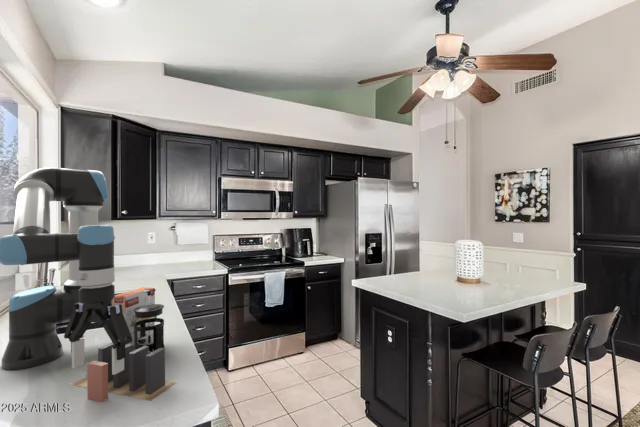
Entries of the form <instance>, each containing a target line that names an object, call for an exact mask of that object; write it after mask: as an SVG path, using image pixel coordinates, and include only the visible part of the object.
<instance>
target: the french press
mask: <svg viewBox="0 0 640 427" xmlns="http://www.w3.org/2000/svg"><path fill="white" fill-rule="evenodd" d="M153 291H157V289H156V288H155V289H146V290H143V291H142V292H147V296H148V305H144V306H140V307H137V308H135V309H134V312H135V317H137V318H149V319H145V320H141V321H138V322H136V323H135V324H134V350H136V349H139V348H141V347H143V346H149V352H150V351H152V352H153V351H155V350H157V349H159V348H165V344H164V342H165V341H164V340H165V339H164V338H165V337H164V336H165V335H164V330H165V329H164V325H165V319H164V318H161V317H160V318H159V317H158V316H160V315H162V314H163V311H164V310H163V309H164V308H165V305H164V304H160V303H159V304H158V303H155V304H151V305H150V295H151V292H153ZM150 317H155V318H151V319H150ZM150 322H155V323H158V324H155V325H154V326H150ZM145 323H149V326H148V327H146V324H145ZM138 325H140V327H137V326H138ZM150 330H153V335H150ZM137 331H140V338H138V339H137ZM146 331H149V335H147V336H146ZM137 345H138V346H140V347H138V348H137Z"/></svg>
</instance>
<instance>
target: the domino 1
mask: <svg viewBox="0 0 640 427" xmlns="http://www.w3.org/2000/svg"><path fill="white" fill-rule="evenodd" d="M112 347H114V344H113V342H112V341H111V342H110V343H108V344H105V345H103V346H101V347H98V348H97V361H99V362H104V363H108V382H110V381H112V380H113V374H112Z"/></svg>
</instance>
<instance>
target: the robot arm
mask: <svg viewBox="0 0 640 427" xmlns="http://www.w3.org/2000/svg"><path fill="white" fill-rule="evenodd" d="M108 194H109V191H108V184H107V180H106V177H105V175H104V173H103V172H102V171H100V170H94V169H93V170H92V169H80V168H65V167H64V168H63V167H52V166H51V167H49V166H48V167H42V168H38V169H34V170H32V171H29V172H28V173H25V175H23V176H22V177H20V178H19V179H18V180H17V181H16V183H15V184H14V188H13V198H14V199H15V200H16V204H15V205H16V206H15V215H14V222H13V230H12V233H11V234H7V235H3V236H1V237H0V264H1V265H3V266H18V265H19V266H26V265H35V264H37V265H38V264H46V263H57V262H58V263H59V262H68V279H66V281H64V282H63V288H60V289H59V288H58V289H57V287H56V286H55V285H47V286H46V285H43V286H38V287H34V288H30V289H27V290H23V291H19V292H17V293H15V294H14V295H12V296H11V297H10V299H9V303H8V304H9V305H8V309H7V312H8V343H7V345H6V348H5V350H4V353H3V355H2V357H1V368H2V369H3V370H12V371H13V370H21V369H28V368H32V367H36V366H39V365H42V364H45V363H48V362H51V361H53V360H55V359H58V358H59V357H60V356H62V354H63V353H64V352H63V349H64V348H63V344H62V342H61V339H60V338H59V336H58V333H57V327H56V325H57V324H58V325H59V324H63V323H68V324H67V326H66V329H65V332H64V334H63V338H64V339H65V340H66V339H68V341H69V342H70V351H71V369H76V368H78V367H80V366H83V365H84V364H85V363H86V362H85V360H86V359H85V338H84V336H85V335H84V334H86V331H87V330H88V328H89V327H90V325H91V324H92V323H94V324H98V325H99V326H101V327H103V329H104V331H105V332H106V334H107V336H108V337H109V339H110V341H111V343H112V342H113V344H114V347H112V374H113V375H115V374H117V373H119V372H121V371H123V370H124V358H125V345H126V344H128V343H130V342H132V341H133V339H132V336H131V334H130V331H129V328H128V326H127V323H126V321H125V318H124V315H123V311H122V305H121V304H119V305H116V306H112V299H113V298H114V297H115V295H116V294H115V293H116V292H115V291H116V290H115V286H116V285H114V283H115V281H116V279H115V277H116V276H115V275H116V274H115V239H116V238H115V237H116V236H115V233H114V230H115V229H114V227H113V225H111V224H99V211H100V210H101V209H102V208H103V207H104V203H106V202H108V201H109V195H108ZM51 202H62V206H63V208H64V209H65V210H67V212H68V232H65V233H64V232H63V233H61V232H60V233H58V232H57V233H51ZM126 338H127V339H126ZM118 340H119V341H118Z"/></svg>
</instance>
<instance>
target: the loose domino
mask: <svg viewBox="0 0 640 427" xmlns="http://www.w3.org/2000/svg"><path fill="white" fill-rule="evenodd" d="M86 364H87V365H86V366H87V369H86V374H87V375H86V376H87V388H86V389H87V391H86V392H87V399H88V400H91V401H95V402H96V401H97V402H101V403H103V402H104V401H107V400H108V399H109V392H108V363H104V362H99V361H98V360H97V361H96V360H92V361H90V362H87V363H86Z"/></svg>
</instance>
